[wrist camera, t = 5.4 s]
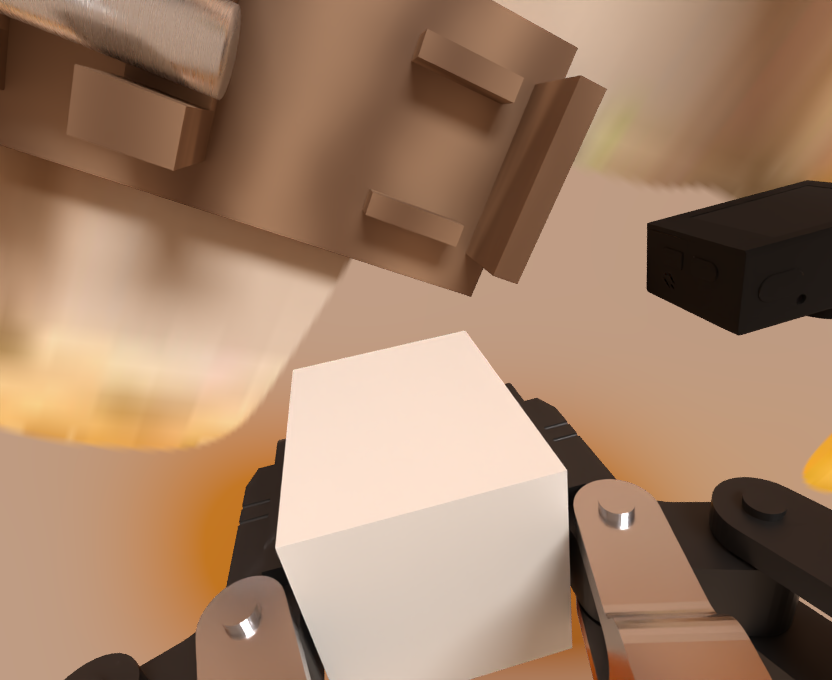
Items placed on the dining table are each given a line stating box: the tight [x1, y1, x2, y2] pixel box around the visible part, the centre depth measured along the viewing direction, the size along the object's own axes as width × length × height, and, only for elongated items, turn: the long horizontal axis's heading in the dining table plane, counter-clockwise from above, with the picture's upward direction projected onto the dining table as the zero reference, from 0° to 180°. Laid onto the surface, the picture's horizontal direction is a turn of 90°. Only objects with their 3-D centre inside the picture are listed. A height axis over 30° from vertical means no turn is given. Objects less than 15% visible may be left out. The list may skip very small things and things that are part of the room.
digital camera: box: [647, 180, 832, 335], centre depth 25 cm, size 10×5×7 cm, turn 102°
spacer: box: [275, 331, 572, 680], centre depth 9 cm, size 4×4×5 cm
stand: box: [0, 0, 607, 297], centre depth 17 cm, size 26×12×7 cm, turn 69°
